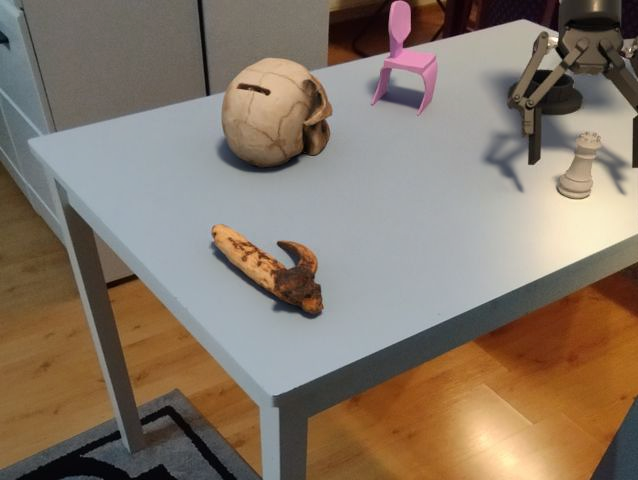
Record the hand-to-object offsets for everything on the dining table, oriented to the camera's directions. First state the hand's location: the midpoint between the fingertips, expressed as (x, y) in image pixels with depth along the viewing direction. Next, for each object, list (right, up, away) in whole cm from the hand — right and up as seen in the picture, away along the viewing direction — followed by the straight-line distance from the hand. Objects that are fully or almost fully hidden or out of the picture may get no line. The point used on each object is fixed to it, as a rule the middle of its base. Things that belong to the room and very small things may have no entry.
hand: (587, 163), depth 87 cm
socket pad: (+3, +18, +27) cm, 32 cm away
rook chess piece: (0, -3, +5) cm, 5 cm away
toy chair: (-21, +16, +24) cm, 36 cm away
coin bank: (-40, +6, +13) cm, 42 cm away
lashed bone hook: (-39, -15, -10) cm, 43 cm away
